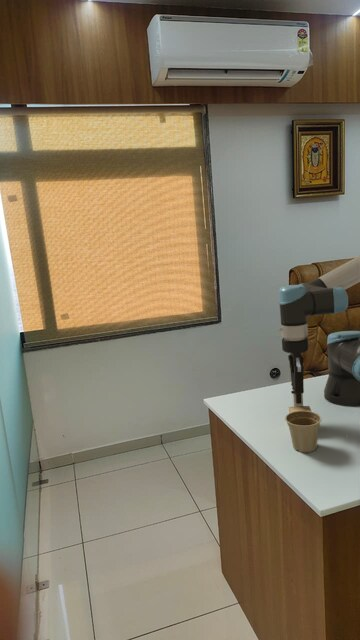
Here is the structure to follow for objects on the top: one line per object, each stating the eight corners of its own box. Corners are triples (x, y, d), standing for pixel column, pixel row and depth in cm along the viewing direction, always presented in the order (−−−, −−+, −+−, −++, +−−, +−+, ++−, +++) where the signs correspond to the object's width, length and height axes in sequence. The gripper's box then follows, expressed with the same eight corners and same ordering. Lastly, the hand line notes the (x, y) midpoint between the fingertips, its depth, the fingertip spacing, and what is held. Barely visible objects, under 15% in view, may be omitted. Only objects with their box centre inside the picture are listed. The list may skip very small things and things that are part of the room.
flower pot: (298, 459, 108) (297, 428, 106) (280, 443, 117) (278, 415, 115) (329, 450, 110) (328, 420, 108) (309, 436, 119) (308, 408, 117)
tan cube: (309, 405, 125) (312, 414, 119) (310, 424, 126) (313, 433, 120) (288, 406, 126) (291, 415, 120) (289, 425, 127) (292, 434, 121)
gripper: (279, 333, 129) (283, 403, 134) (284, 344, 117) (289, 421, 121) (303, 331, 128) (307, 402, 133) (311, 342, 116) (315, 420, 120)
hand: (298, 411), depth 127 cm, fingers closed
